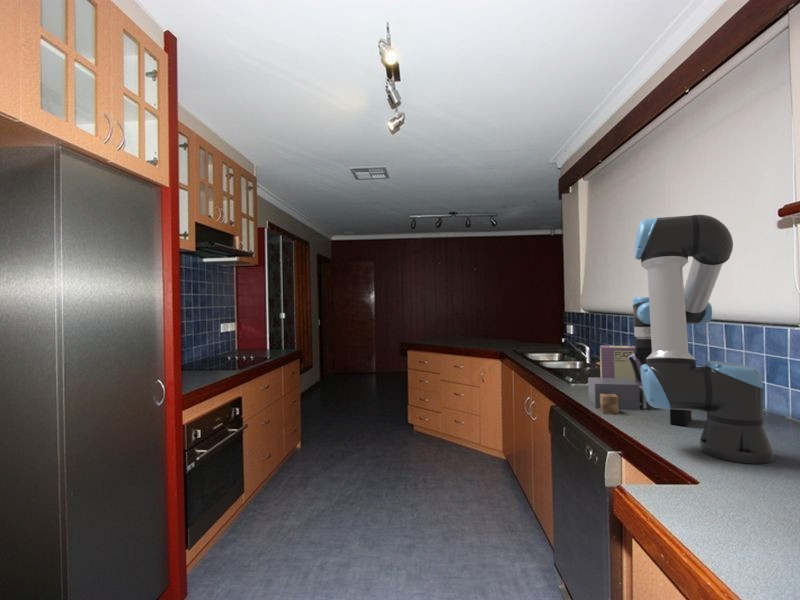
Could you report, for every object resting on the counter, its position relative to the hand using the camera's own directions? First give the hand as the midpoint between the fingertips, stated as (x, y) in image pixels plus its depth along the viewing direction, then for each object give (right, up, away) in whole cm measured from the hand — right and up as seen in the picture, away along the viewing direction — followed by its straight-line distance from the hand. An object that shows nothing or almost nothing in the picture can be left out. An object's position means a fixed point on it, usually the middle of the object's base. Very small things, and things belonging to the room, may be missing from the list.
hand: (648, 400), depth 166 cm
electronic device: (-2, -2, -23) cm, 23 cm away
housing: (-12, -2, +3) cm, 13 cm away
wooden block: (-19, -2, -8) cm, 21 cm away
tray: (-10, -2, +2) cm, 11 cm away
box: (+1, -2, +21) cm, 21 cm away
